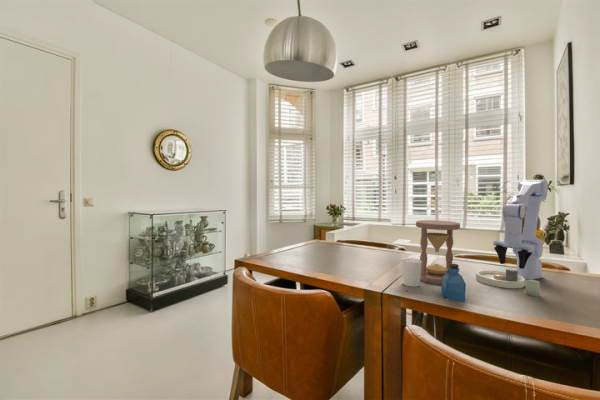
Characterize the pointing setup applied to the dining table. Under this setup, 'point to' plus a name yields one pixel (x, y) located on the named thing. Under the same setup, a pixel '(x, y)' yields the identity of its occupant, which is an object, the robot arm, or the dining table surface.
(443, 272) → the hourglass
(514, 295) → the dining table surface
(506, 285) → the groove tray
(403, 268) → the white cup
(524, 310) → the dining table surface
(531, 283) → the pale green rounded block
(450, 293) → the perfume bottle
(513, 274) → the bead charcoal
